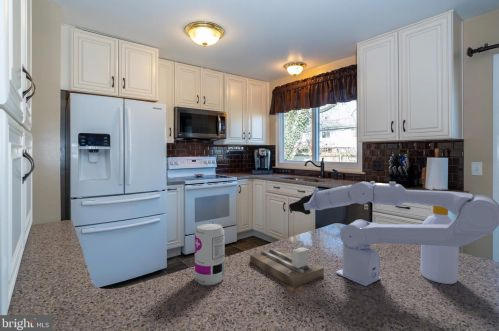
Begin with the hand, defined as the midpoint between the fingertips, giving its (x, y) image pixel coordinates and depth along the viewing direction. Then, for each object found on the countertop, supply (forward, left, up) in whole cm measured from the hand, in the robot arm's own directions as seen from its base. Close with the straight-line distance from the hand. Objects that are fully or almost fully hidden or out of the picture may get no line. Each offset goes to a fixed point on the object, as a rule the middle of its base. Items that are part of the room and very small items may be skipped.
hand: (296, 204), depth 88 cm
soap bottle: (-34, -24, -18) cm, 45 cm away
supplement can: (+2, +31, -18) cm, 36 cm away
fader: (-11, +9, -15) cm, 21 cm away
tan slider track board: (-5, +9, -18) cm, 21 cm away
